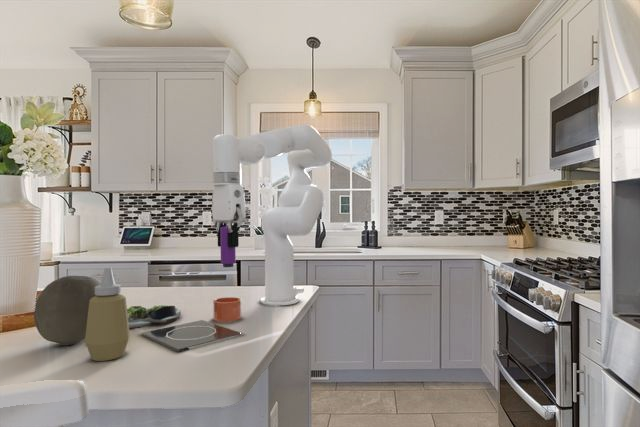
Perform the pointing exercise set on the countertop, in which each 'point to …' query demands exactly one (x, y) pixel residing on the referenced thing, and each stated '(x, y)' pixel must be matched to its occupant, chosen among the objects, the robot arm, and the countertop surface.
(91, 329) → the squeeze bottle
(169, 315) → the salad plate
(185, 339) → the slate board
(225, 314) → the pen pot
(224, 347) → the countertop surface
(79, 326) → the cantaloupe
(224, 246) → the cylinder
